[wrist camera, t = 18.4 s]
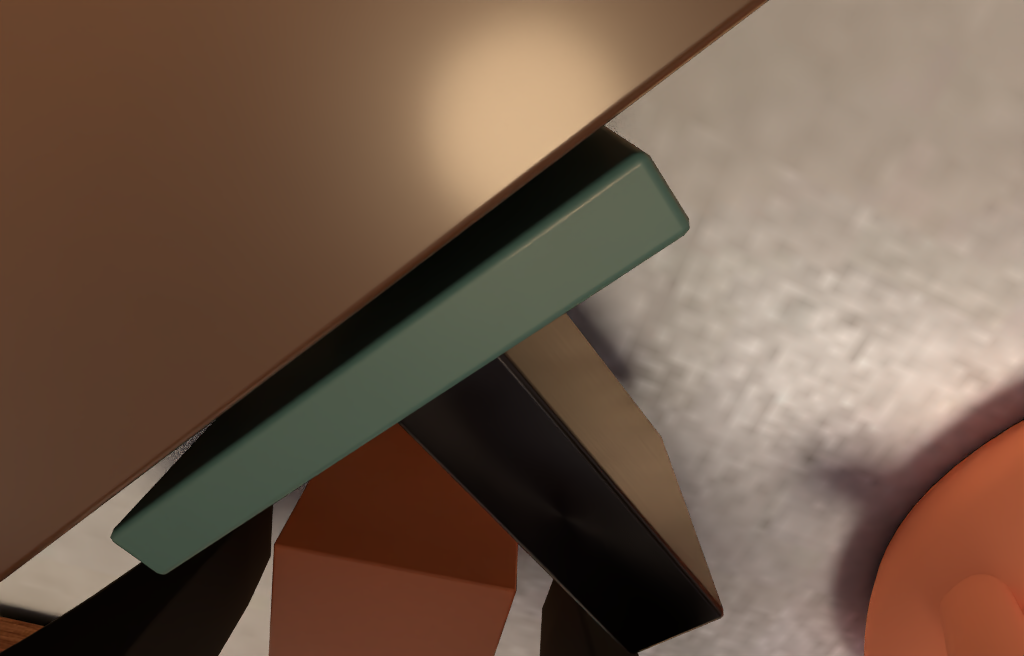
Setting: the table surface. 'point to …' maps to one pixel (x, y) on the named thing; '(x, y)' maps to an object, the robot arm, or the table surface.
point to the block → (390, 561)
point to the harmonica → (14, 631)
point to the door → (484, 403)
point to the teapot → (957, 563)
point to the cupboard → (256, 194)
